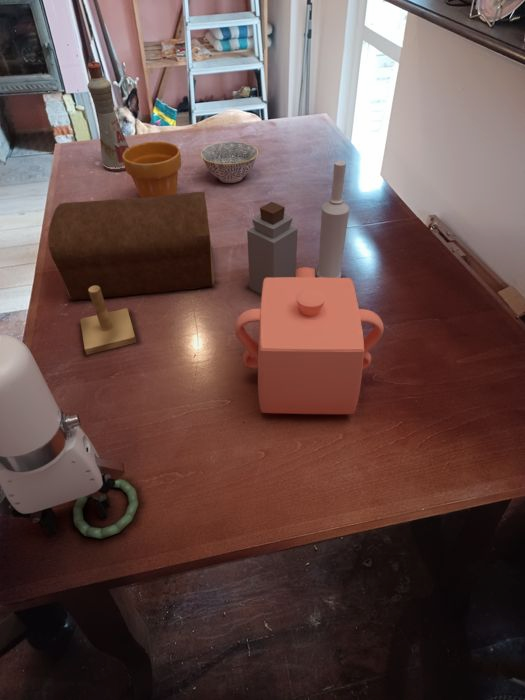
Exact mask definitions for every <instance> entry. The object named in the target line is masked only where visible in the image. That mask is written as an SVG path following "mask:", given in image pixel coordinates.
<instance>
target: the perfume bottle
mask: <svg viewBox="0 0 525 700" xmlns="http://www.w3.org/2000/svg"><path fill="white" fill-rule="evenodd" d="M285 208H286V207H285V206H283V205H281V204H278V203H276V202H273V201H270V202H268V203H267V204H264V205H263V206H261V207H259V212H260V213H259V215H257V216H255V217H253V218H252V219H251V221H252V224H253V227H251V228H249V229H247V231H246V235H247V260H248V281H249V289H250V290H252V291H254V292H256V293H258V294H259V295H261V296H262V288H263V281H264V279H265V278H277V277H295V276H296V269H297V252H298V250H297V249H298V228H297V227H295V226H293V225H292V222H293V217H292V216H289V215H286V214H285V211H286V209H285Z"/></svg>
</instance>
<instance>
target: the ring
mask: <svg viewBox="0 0 525 700" xmlns="http://www.w3.org/2000/svg"><path fill="white" fill-rule="evenodd" d="M112 488H115V489H120V490H122V492H124V493H125V494H126V496H127V501H128V506H127V508H126V510H125V512H124V515H123V516H122V517H121V518H120V519H119V520H117V521H116V522H115V523H114V524H112V525H108V526H106V527H102V528H100V527H94V526H90V525H89V523H88V522H87V521H86V520H84V511H83V510H84V507H85V505H86V503H87V501H88V499H90V498H91V497H90V496H89V495H87V496H84V497H81V498H78V499H76V501H75V503H74V504H73V505H74V506H73V507H72V518H73V525H74V526H75V528H76V529H77V530H78V531H79V532H80V533H81V534H82V535H83V536H84V537H86V538H87V537H88V538H93V539H100V540H103V539H105V538H109V537H111V536H114V535H116V534H120V533H121V532H122V531H123V530H124V529H125V528H126V527H127V526H128V525H130V523H131V522H132V521H133V520H134V519H135V518H134V517H135V514H136V512H137V509H138V506H139V499H138V495H137V490H136V488H134V486H132V485H131V484H130V483H129V482H128V481H127V480H125V479H122V478H119V479H118V480H116V482H115V485H114V486H113V487H112Z"/></svg>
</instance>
